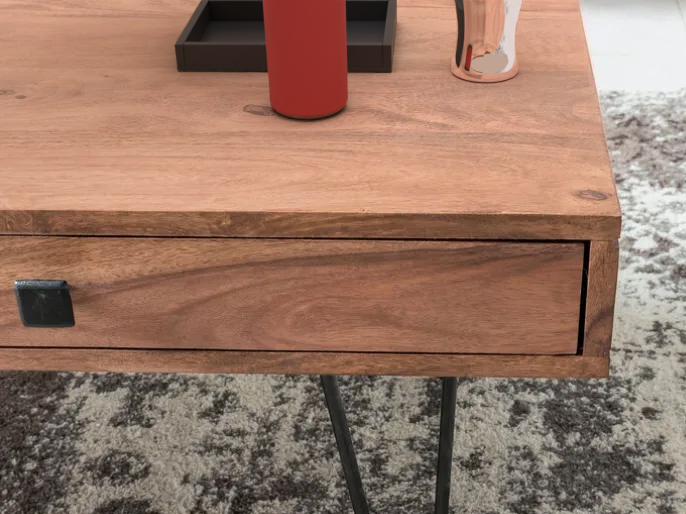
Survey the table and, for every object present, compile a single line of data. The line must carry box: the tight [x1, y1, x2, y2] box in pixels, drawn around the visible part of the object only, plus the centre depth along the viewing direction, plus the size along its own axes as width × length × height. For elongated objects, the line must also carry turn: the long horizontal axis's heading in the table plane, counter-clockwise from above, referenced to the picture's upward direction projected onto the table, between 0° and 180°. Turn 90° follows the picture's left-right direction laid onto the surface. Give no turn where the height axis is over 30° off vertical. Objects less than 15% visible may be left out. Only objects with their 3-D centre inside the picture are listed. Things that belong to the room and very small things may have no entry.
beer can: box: [263, 0, 349, 120], centre depth 85 cm, size 7×7×12 cm
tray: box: [174, 0, 398, 73], centre depth 100 cm, size 20×14×2 cm
